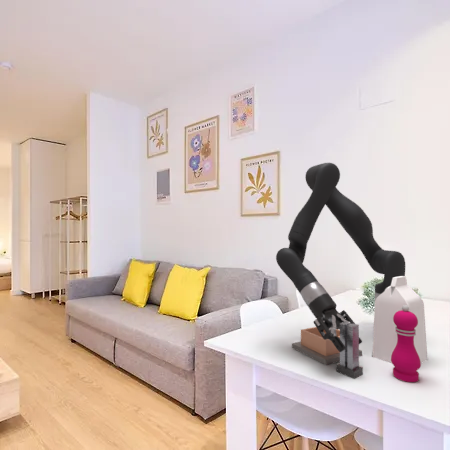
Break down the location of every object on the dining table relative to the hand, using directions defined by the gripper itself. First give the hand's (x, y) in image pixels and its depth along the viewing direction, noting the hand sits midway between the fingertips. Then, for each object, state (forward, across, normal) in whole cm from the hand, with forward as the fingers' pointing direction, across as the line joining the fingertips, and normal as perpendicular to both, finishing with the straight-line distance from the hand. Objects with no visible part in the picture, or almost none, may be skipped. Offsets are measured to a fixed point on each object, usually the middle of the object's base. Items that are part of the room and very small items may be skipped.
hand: (351, 347), depth 90 cm
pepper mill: (+13, +10, -2) cm, 16 cm away
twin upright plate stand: (+5, 0, +6) cm, 8 cm away
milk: (+8, +23, +3) cm, 24 cm away
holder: (-5, +9, +16) cm, 18 cm away
